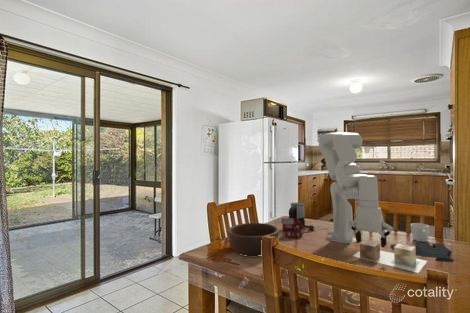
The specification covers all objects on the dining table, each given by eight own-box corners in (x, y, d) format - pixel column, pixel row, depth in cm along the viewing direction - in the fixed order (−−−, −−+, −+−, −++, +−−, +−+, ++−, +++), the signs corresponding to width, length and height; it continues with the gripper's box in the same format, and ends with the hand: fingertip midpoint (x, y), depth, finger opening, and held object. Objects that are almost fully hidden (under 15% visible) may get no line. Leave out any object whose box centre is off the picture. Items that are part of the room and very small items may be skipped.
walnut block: (360, 257, 110) (359, 243, 110) (365, 253, 114) (364, 240, 114) (375, 261, 106) (374, 246, 106) (380, 257, 110) (379, 243, 110)
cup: (435, 245, 124) (434, 229, 124) (415, 244, 127) (415, 228, 127) (426, 238, 134) (425, 223, 135) (408, 237, 137) (408, 222, 137)
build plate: (352, 258, 112) (352, 255, 112) (365, 249, 122) (365, 246, 122) (418, 275, 94) (418, 272, 94) (427, 263, 104) (427, 260, 104)
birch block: (394, 261, 104) (394, 247, 104) (398, 257, 108) (398, 243, 108) (412, 266, 100) (411, 250, 100) (415, 261, 104) (415, 246, 104)
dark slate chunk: (387, 247, 125) (386, 237, 125) (439, 250, 120) (439, 240, 120) (399, 259, 110) (399, 248, 110) (459, 263, 105) (459, 251, 105)
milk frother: (292, 224, 171) (291, 202, 171) (316, 226, 165) (316, 203, 165) (287, 229, 158) (287, 205, 158) (314, 232, 152) (313, 207, 152)
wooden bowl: (289, 249, 125) (288, 228, 125) (255, 264, 108) (254, 240, 108) (252, 238, 143) (251, 220, 143) (217, 250, 126) (217, 229, 126)
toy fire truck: (305, 238, 141) (304, 219, 141) (282, 238, 142) (282, 219, 142) (303, 234, 148) (302, 216, 148) (281, 234, 149) (280, 216, 149)
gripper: (344, 203, 114) (346, 242, 113) (388, 206, 101) (390, 250, 100) (351, 201, 119) (353, 238, 118) (394, 204, 106) (396, 246, 105)
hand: (370, 244), depth 109 cm, fingers open, 9 cm apart
